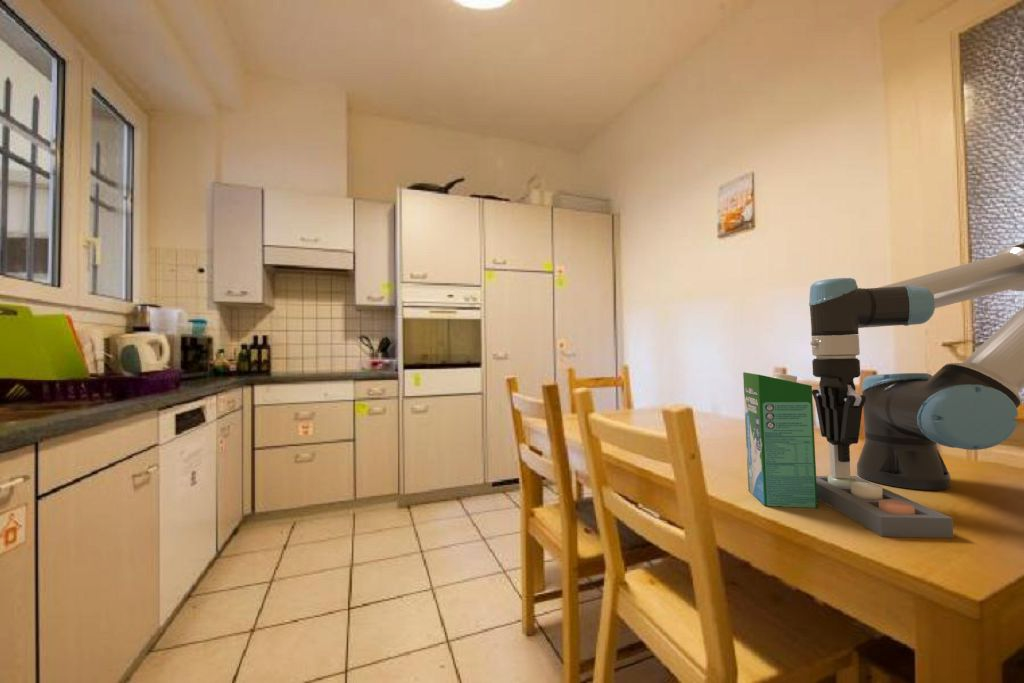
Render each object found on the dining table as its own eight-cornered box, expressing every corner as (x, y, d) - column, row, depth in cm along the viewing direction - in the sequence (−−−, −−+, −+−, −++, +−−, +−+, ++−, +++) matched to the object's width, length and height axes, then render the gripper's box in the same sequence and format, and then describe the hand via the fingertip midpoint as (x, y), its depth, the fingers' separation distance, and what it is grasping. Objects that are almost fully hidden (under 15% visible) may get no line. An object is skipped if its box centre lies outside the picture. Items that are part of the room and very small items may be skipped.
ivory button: (871, 497, 79) (870, 481, 79) (889, 506, 74) (888, 489, 74) (845, 497, 79) (845, 481, 79) (862, 505, 75) (861, 489, 75)
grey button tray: (803, 490, 88) (803, 475, 88) (856, 490, 87) (855, 476, 87) (881, 536, 66) (880, 517, 67) (953, 538, 65) (952, 518, 65)
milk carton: (818, 508, 79) (811, 373, 79) (764, 506, 80) (758, 374, 81) (796, 492, 87) (790, 370, 88) (748, 490, 89) (742, 371, 90)
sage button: (847, 489, 86) (846, 474, 86) (862, 496, 81) (861, 481, 81) (823, 489, 86) (822, 474, 86) (837, 496, 82) (836, 481, 82)
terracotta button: (901, 517, 72) (900, 499, 72) (923, 527, 67) (922, 509, 67) (872, 516, 72) (871, 499, 72) (892, 527, 68) (891, 509, 68)
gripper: (797, 357, 91) (801, 467, 91) (835, 358, 78) (841, 487, 78) (835, 356, 90) (840, 467, 90) (880, 357, 77) (886, 487, 77)
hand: (840, 476), depth 84 cm, fingers closed
